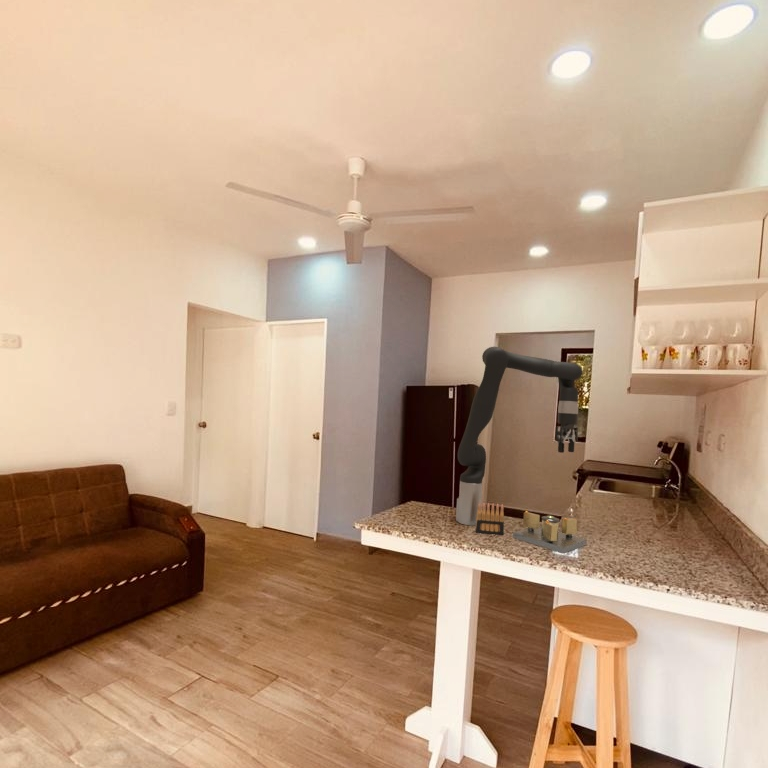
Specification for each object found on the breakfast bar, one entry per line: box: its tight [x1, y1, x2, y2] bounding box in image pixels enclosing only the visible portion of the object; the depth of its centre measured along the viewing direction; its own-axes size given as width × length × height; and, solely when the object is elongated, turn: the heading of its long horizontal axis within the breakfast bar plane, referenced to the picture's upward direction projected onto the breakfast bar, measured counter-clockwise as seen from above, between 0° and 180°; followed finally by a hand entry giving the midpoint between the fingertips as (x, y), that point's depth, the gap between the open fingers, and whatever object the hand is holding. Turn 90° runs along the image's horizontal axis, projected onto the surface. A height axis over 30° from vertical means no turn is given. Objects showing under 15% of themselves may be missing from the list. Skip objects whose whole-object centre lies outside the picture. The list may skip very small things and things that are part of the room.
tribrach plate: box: [512, 515, 588, 554], centre depth 166 cm, size 20×18×9 cm
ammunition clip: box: [475, 501, 505, 536], centre depth 171 cm, size 11×2×12 cm, turn 86°
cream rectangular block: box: [561, 517, 578, 537], centre depth 167 cm, size 2×6×7 cm, turn 118°
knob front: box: [543, 520, 557, 543], centre depth 159 cm, size 2×6×7 cm, turn 8°
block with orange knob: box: [522, 510, 541, 531], centre depth 172 cm, size 2×6×7 cm, turn 41°
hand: (566, 452), depth 178 cm, fingers open, 8 cm apart
